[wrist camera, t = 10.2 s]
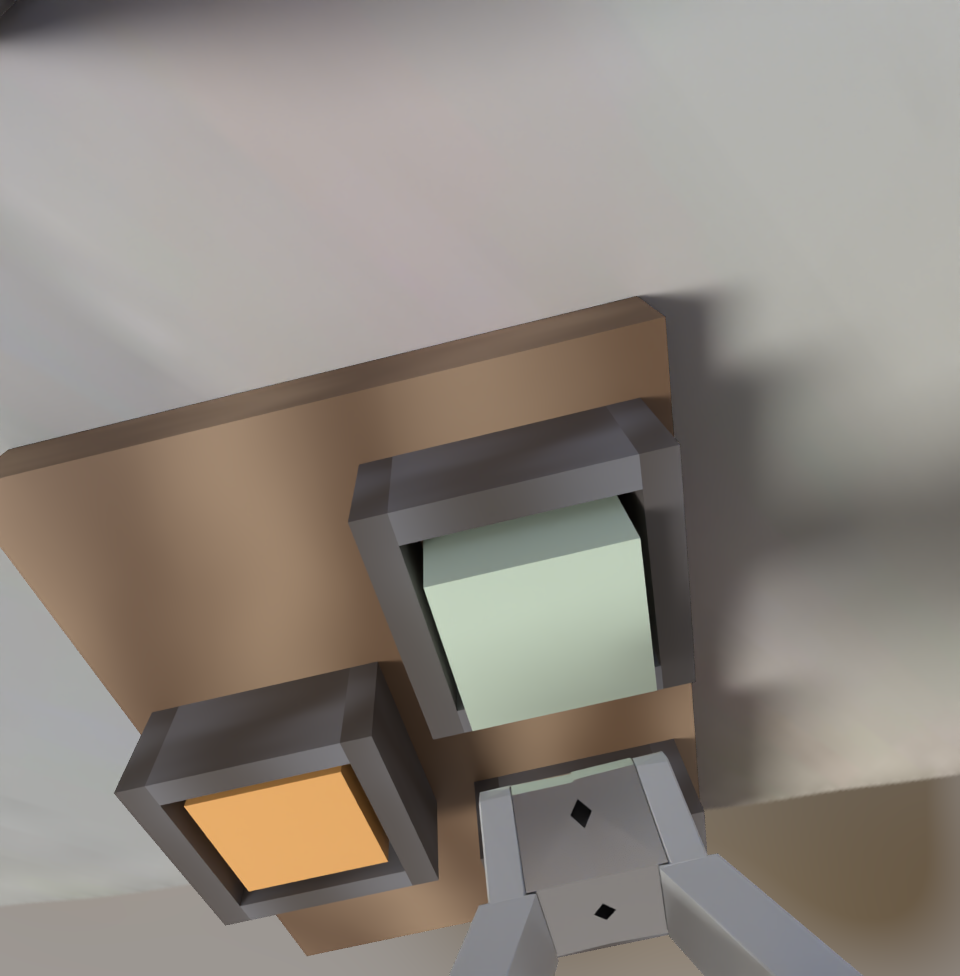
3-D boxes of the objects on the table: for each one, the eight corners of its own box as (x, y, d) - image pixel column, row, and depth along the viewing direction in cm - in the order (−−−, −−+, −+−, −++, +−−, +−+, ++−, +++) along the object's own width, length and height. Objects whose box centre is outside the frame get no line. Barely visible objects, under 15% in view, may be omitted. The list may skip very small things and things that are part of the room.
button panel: (637, 296, 15) (712, 351, 11) (685, 823, 26) (733, 945, 22) (8, 449, 16) (-131, 553, 12) (314, 902, 26) (295, 1035, 22)
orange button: (348, 709, 18) (340, 771, 16) (391, 798, 20) (388, 862, 18) (206, 741, 18) (184, 806, 16) (263, 825, 20) (248, 891, 18)
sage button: (611, 486, 13) (640, 538, 12) (630, 628, 15) (657, 690, 14) (422, 530, 14) (423, 587, 12) (466, 665, 16) (472, 731, 14)
